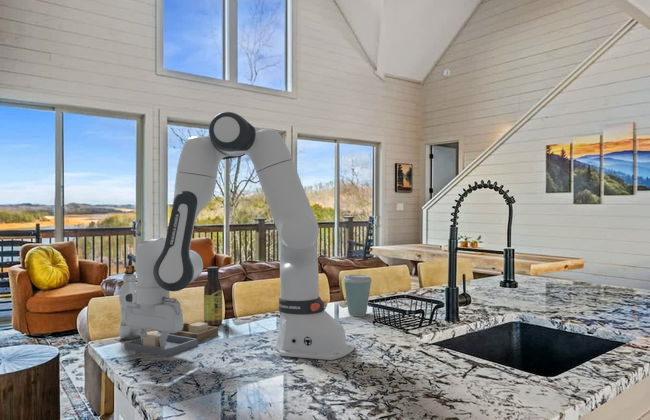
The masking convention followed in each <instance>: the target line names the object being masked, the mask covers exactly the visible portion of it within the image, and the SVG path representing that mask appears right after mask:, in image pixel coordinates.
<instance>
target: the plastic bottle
mask: <svg viewBox="0 0 650 420" xmlns="http://www.w3.org/2000/svg"><path fill="white" fill-rule="evenodd" d="M122 277H123V278H122V282H123V284H122V285H121V287H120V288H119V290H118V300H119V307H120V325H119V329H118V330H119V331H118V333H119V334H118V335H119V337H120V339H121V340H122V341H133V340H136V339H140V338H141V337H140V335H139V333H138V328H136V327H129V326H126V324H125V321H124V305H125V303H126V302H125V301H124V295H125V294H127V293H130V292H133V291H136V283H137V274H136V273H131V274H130V273H129V274H123V275H122Z"/></svg>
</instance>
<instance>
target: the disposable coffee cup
mask: <svg viewBox="0 0 650 420" xmlns="http://www.w3.org/2000/svg"><path fill="white" fill-rule="evenodd" d="M343 283H344V290H345V291H344V292H345V298H346V303H347V312H348V314H349V316H351V317H352V316H353V317H363V316H364V317H365V316H366V314H367V312H368V304H369V298H370V292H371V291H370V290H371V283H372V278H371V276H370V275H367V274H358V273H357V274H356V273H355V274H354V273H353V274H352V273H351V274H347V273H346V274H344V277H343Z"/></svg>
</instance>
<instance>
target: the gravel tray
mask: <svg viewBox="0 0 650 420" xmlns="http://www.w3.org/2000/svg"><path fill="white" fill-rule="evenodd" d="M155 334H160V332H157V333H155ZM198 344H199V342H198V339H195V338H189V337H183V336H176V335H170V334H169V336H168V338H167V340H166V346H165V347H164V349H160V348H155V347H149V346H144V345H143V344H142V343H141V337H139V338H137V339H133V340H129V341H126V342H125V343H124V350H127V351H131V352H132V351H133V352H136V353H141V354H146V355H152V356H157V357H161V358H162V357H163V358H167V357H170V356H172V355H176V354H178V353H181V352H183V351H186V350H188V349H189V350H190V349H192V348H194V347H197V346H198Z"/></svg>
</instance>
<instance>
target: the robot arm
mask: <svg viewBox="0 0 650 420" xmlns="http://www.w3.org/2000/svg"><path fill="white" fill-rule="evenodd" d="M245 155H247V156H248V158H249V159H250V160H251V162H252V165H253V167H254V170H255V173H256V176H257V178H258V181H259V183H260V186H261V189H262V192H263V194H264V197H265V199H266V202H267V206H268V207H269V212H270V214H271V218H272V219H273V221H274V222H273V223H274V225H275V228H276V230H277V233H278V237H279V286H280V287H279V292H280V293H279V296H280V297H279V298H278V312H279V326H278V334H277V340H276V343H275V350H276V351H278V352H279V356H281V357H291V358H293V357H294V358H304V359H313V360H314V359H316V360H327V361H333V360H337V359H340V358H344V357H346V356H347V355H350V354H351V353H352V352H353V351H354V349H355V345H354V343H353V342H351V341H350V342H349V341H347V339H346V338H347V337H346V332H345V331H346V330H345V329H344V326H343V325H342V324H341V323H339V322H338V321H337V320H336V319H335V318H334V317H333V316H332V315H330V314H329V312H327V311H326V310H325V306H326V305H327V304H328V303H327V302H328V300H327V299H326V300H323V299H322V298H321V296H320V293H319V292H320V291H319V289H320V287H319V286H320V285H319V261H318V259H319V258H318V239H319V234H320V227H319V223H318V221H317V219H316V217H315V214H314V211H313V209H312V205H311V204H310V200H309V199H308V196H307V194H306V191H305V188H304V186H303V183H302V180H301V178H300V175H299V173H298V170H297V167H296V165H295V162H294V160H293V157H292V154H291V151H290V150H289V147H288V146H287V144H286V142H285V140H284V139H283V137H282V136H281V134H280V133H279V131H278V130H276V129H274V128H268V127H267V128H262V129H257V130H256V128H255V127H254V126H253V125H252V124H251V123H249V121H247V120H246V119H245V118H244V117H243V116H241V115H239V114H238V113H235V112H233V111H223V112H220V113H218V114H216V115H215V116H214V117H213V118H212V119H211V121H210V123H209V127H208V135H205V136H203V135H194V136H193V135H192V136H191V137H188V138H187V139H186V140H185V141H184V143H183V146H182V149H181V151H180V155H179V159H178V163H177V168H176V173H175V174H176V175H175V182H174V183H175V184H174V192H173V199H172V208H171V213H170V218H169V222H168V226H167V232H166V236H165V237H158V238H157V237H156V238H152V239H147V240H143V241H141V242H140V243H139V244H138V245H137V248H136V253H135V254H136V255H135V274H136V291H133V292H130V293H127V294H125V295H124V301H125V302H126V303H125V305H124V321H125V324H126V326H129V327H136V328H138V333H139V335H140V337H139V338H141V343H142V344H143V337H144V336H147V335H148V332H147V331H155V332H159V333H160V335H162V336H161V339H160V340H158V347H165V346H166V340H167V338H168V336H169V333H176V332H179V331H181V330H182V329H183V323H184V317H183V311H182V306H181V303H180V302H179V300H177V298H175V297H170V292H180V291H181V290H184V289H185V288H186V287H187V286H188V285H190V283H192V282H194V281H195V280H196V279H198V278H199V277H200V276H201V274H202V273H203V270H204V261H203V257H202V256H201V254H199V252H197V251H196V250H194V249H193V250H192V249H191V245H192V244H191V243H192V239H193V233H194V227H195V225H196V220H197V218H198V216H199V214H200V213H201V212H202V211H203V209H204V208H206V206H208V204H210V202H211V200H212V199H213V196H214V193H215V190H216V185H217V178H218V172H219V171H218V170H219V166H220V163H221V162H222V160H230V159H237V158H241V157H244V156H245Z"/></svg>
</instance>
